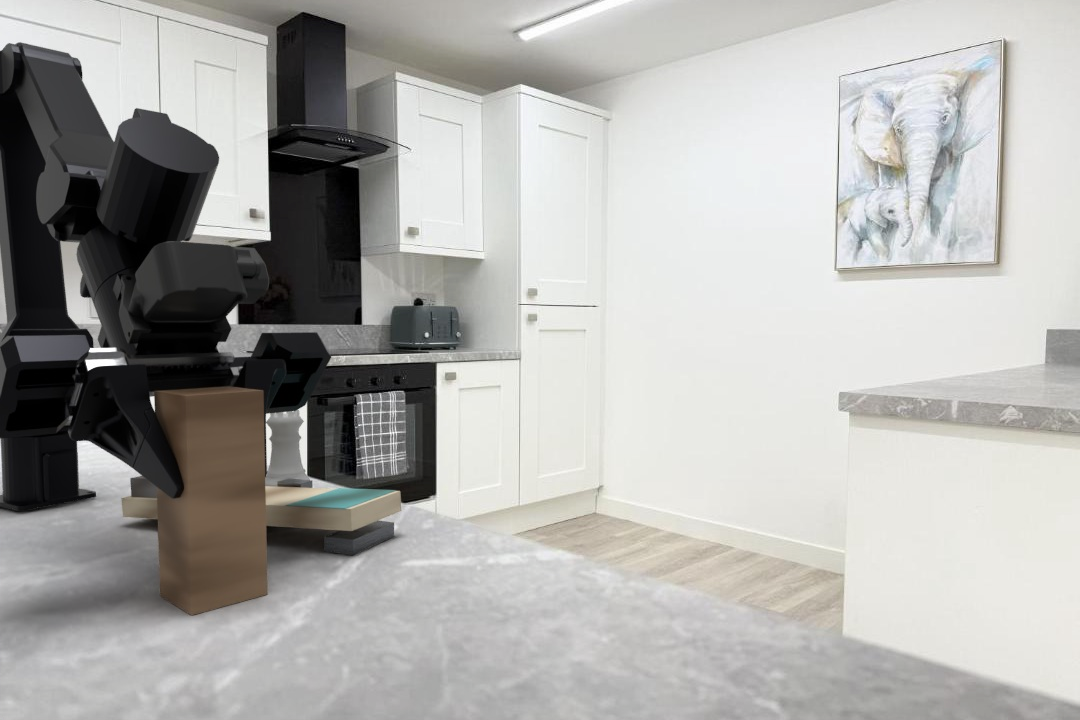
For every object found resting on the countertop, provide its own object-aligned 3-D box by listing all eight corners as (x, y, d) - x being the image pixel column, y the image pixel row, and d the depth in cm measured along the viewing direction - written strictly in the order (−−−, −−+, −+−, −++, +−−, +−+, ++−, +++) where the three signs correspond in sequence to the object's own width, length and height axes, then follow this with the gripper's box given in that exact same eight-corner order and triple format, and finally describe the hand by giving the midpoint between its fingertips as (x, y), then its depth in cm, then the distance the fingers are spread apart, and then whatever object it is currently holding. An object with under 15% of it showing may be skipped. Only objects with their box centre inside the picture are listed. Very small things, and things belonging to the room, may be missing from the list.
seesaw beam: (123, 526, 60) (119, 479, 60) (185, 509, 66) (182, 465, 66) (352, 542, 52) (349, 486, 52) (402, 520, 57) (399, 471, 57)
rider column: (159, 595, 45) (154, 391, 44) (233, 577, 48) (228, 386, 47) (191, 615, 42) (185, 395, 41) (267, 594, 45) (263, 390, 44)
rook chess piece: (296, 505, 67) (294, 414, 67) (250, 503, 68) (248, 413, 68) (320, 494, 71) (319, 408, 71) (277, 492, 72) (275, 407, 72)
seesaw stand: (195, 545, 55) (194, 504, 55) (289, 513, 64) (289, 478, 64) (330, 565, 50) (329, 520, 50) (411, 528, 59) (411, 489, 59)
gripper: (-11, 180, 40) (62, 408, 33) (314, 216, 53) (414, 382, 46) (-38, 331, 45) (19, 553, 38) (261, 329, 59) (343, 492, 52)
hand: (221, 486), depth 43 cm, fingers closed on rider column, 4 cm apart
